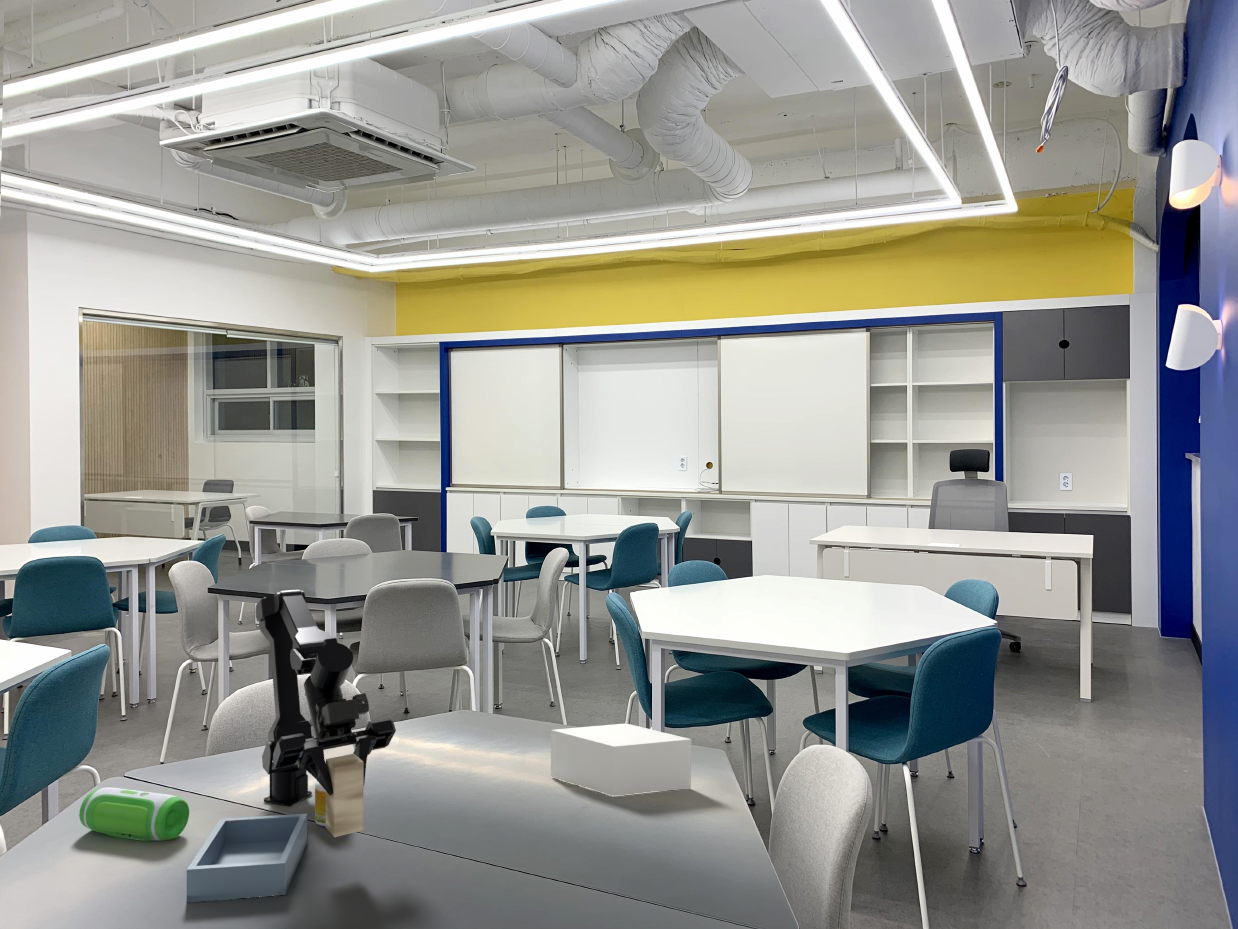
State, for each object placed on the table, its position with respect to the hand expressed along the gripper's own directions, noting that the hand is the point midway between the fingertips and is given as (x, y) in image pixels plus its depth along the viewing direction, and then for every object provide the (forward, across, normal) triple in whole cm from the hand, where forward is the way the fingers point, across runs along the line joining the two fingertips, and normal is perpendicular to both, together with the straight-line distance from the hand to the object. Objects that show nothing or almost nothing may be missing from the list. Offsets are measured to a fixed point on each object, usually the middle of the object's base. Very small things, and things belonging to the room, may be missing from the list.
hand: (347, 790), depth 139 cm
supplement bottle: (-6, +4, +25) cm, 26 cm away
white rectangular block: (+5, +58, +14) cm, 60 cm away
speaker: (-15, -26, +35) cm, 46 cm away
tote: (+3, -12, +17) cm, 21 cm away
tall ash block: (+4, 0, +6) cm, 7 cm away
